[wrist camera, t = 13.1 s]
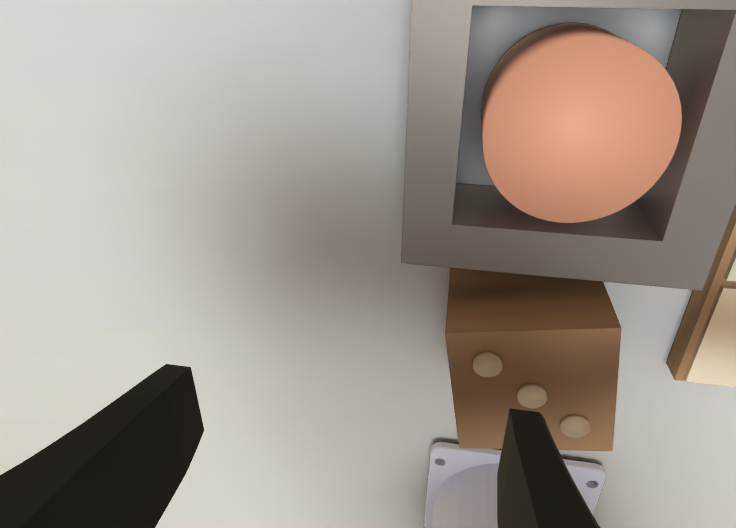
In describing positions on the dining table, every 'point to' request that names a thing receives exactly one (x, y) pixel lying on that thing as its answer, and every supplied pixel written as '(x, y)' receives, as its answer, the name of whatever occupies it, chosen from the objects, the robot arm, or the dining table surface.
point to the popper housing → (581, 239)
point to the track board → (710, 323)
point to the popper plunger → (578, 123)
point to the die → (532, 356)
